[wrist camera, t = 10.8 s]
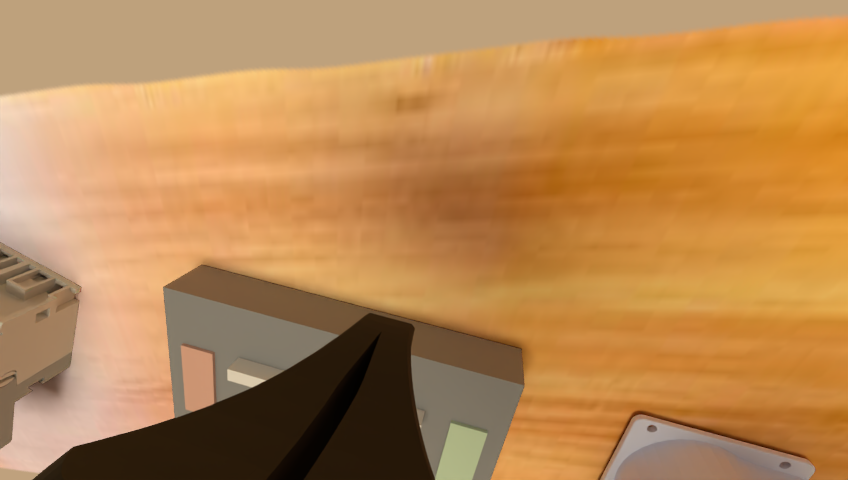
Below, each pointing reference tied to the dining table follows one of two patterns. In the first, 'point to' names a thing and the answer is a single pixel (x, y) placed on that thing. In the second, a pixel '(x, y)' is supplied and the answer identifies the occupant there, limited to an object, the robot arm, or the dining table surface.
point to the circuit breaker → (31, 329)
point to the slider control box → (314, 328)
